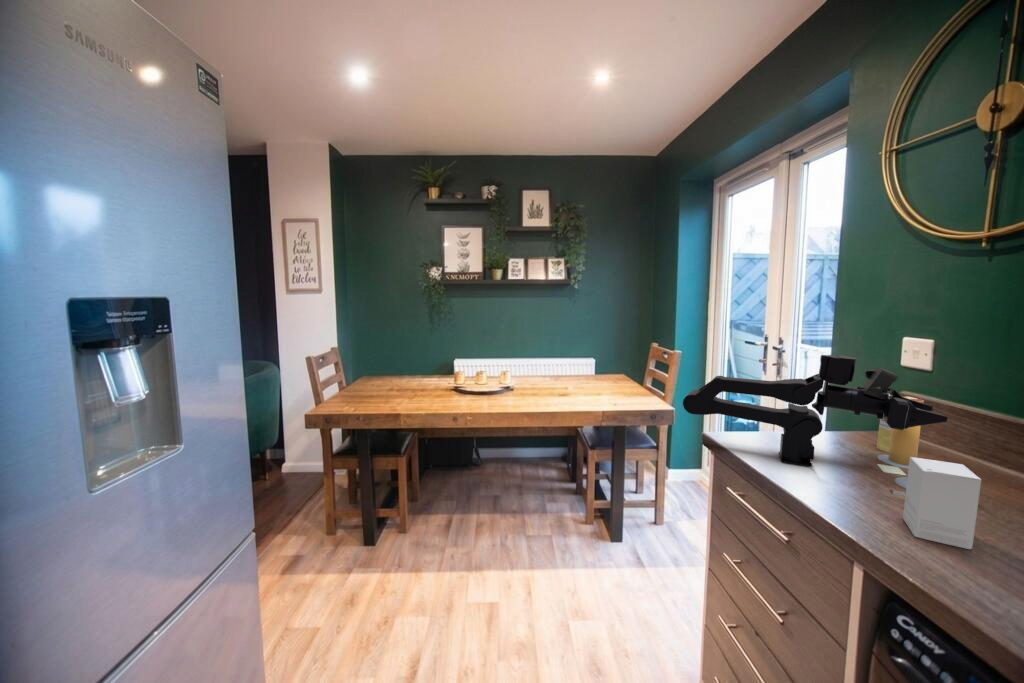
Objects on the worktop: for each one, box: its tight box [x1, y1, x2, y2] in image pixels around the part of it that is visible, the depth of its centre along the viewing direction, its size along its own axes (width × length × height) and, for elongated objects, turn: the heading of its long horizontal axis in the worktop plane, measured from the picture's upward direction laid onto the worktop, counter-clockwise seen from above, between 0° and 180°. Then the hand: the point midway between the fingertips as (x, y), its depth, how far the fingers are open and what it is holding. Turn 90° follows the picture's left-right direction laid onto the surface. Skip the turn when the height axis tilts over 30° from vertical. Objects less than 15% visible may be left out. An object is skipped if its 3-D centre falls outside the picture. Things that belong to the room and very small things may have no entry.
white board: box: [876, 454, 909, 497], centre depth 94 cm, size 12×24×1 cm, turn 153°
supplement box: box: [902, 457, 982, 550], centre depth 72 cm, size 7×7×13 cm
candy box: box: [876, 396, 925, 453], centre depth 107 cm, size 9×4×15 cm, turn 103°
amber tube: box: [888, 425, 922, 466], centre depth 99 cm, size 5×5×12 cm
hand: (939, 413), depth 89 cm, fingers open, 9 cm apart
